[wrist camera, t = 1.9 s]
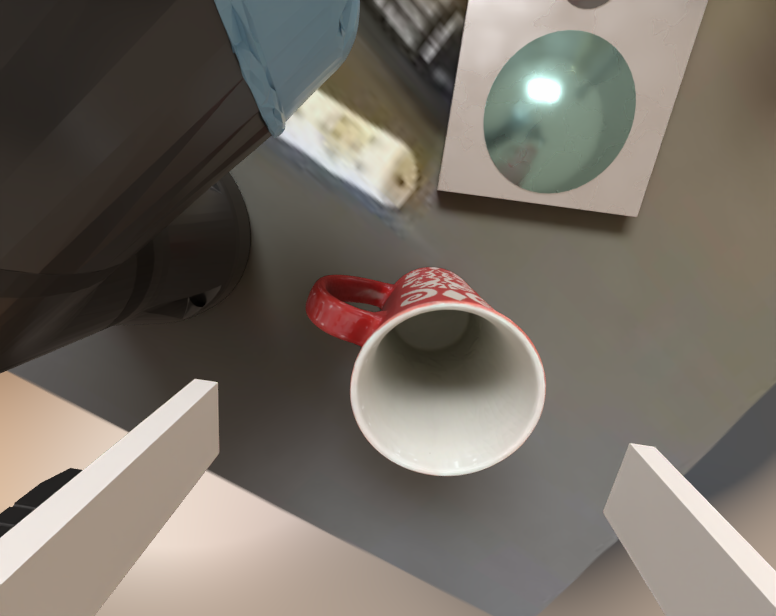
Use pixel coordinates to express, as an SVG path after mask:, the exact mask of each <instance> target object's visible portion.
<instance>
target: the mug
mask: <svg viewBox="0 0 776 616" xmlns="http://www.w3.org/2000/svg"><path fill="white" fill-rule="evenodd" d="M344 302H356V303H366V304H371V305H374V306H377V307H379V308H380V309H381V310H382V311H379V312H370V311H366V310H362V309H359V308H356V307H354V306H351V305H349V304H347V303H344ZM306 313H307V316H308V317H309V319H310V320H311V321H312V322H313V323H314V324H315V325H316V326H317V327H319V328H320V329H321V330H323V331H324V332H326V333H328V334H330V335H332V336H334V337H337V338H339V339H342V340H345V341H348V342H351V343H354V344H356V345H359V346H361V347H362V348H361V350H360V352H359V354H358V356H357V358H356V361H355V363H354V367H353V371H352V375H351V381H350V399H351V407H352V411H353V414H354V417H355V419H356V422H357V424H358V426H359V428H360V430H361V431H362V433H363V435H364V436H365V438H366V439H367V440H368V441H369V443H370V444H371V445H372V446H373V447H374V448H375V449H376V450H377V451H378V452H379V453H381V454H382V455H383V456H385V457H386V458H387V459H389V460H390V461H392V462H394V463H396V464H398V465H400V466H402V467H404V468H406V469H409V470H412V471H415V472H419V473H423V474H428V475H435V476H457V475H465V474H469V473H474V472H477V471H480V470H483V469H486V468H488V467H491V466H493V465H495V464H497V463H498V462H500V461H502V460H504V459H505V458H507V457H508V456H509V455H511V454H512V453H514V452H515V451H516V450H517V449H518V448H519V447H520V446H521V445H522V444H523V443H524V442H525V441H526V439H527V438H528V437H529V435H530V434H531V433H532V431H533V430H534V428H535V426H536V424H537V422H538V420H539V418H540V416H541V413H542V410H543V406H544V401H545V393H546V378H545V372H544V369H543V364H542V361H541V358H540V356H539V354H538V352H537V350H536V348H535V346H534V345H533V343H532V341H531V340H530V338H529V337H528V336H527V335H526V334H525V333H524V331H523V330H522V329H521V328H520V327H519V326H517V325H516V324H515V323H514V322H513V321H511V320H510V319H509V318H507V317H506V316H504V315H502V314H500V313H498V312H497V311H495V310H494V309H493V308H492V307H491V306H490V305H488V304H487V303H486V302H485V301H484V300H483V299H482V298H481V297H480V296H479V295H478V294H477V293H476V292H475V291H474V290H473V289H472V288H471V287H470V286H469V285H468V284H467V283H466V282H465V281H464V280H463V279H462V278H460V277H459V276H458V275H456V274H454V273H452V272H450V271H448V270H445V269H442V268H436V267H426V268H420V269H416V270H414V271H411V272H409V273H407V274H405V275H404V276H403V277H401V278H400V279H399V280H398V281H397V282H396V283H395V284H388V283H383V282H380V281H376V280H371V279H366V278H361V277H355V276H347V275H327V276H324V277H322V278H320V279H318V280H317V281H316V282H315V284H314V286H313V287H312V289H311V291H310V294H309V296H308V299H307V302H306Z"/></svg>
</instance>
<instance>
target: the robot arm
mask: <svg viewBox="0 0 776 616" xmlns="http://www.w3.org/2000/svg"><path fill="white" fill-rule="evenodd" d="M359 10H360V0H0V373H2V372H5V371H7V370H9V369H12V368H14V367H16V366H19V365H21V364H24V363H26V362H28V361H31V360H33V359H35V358H38V357H40V356H42V355H45V354H47V353H50V352H52V351H54V350H57V349H59V348H61V347H64V346H66V345H69V344H71V343H73V342H76V341H78V340H80V339H83V338H85V337H88V336H90V335H92V334H94V333H96V332H99V331H101V330H104V329H106V328H108V327H111V326H115V325H138V324H162V323H172V322H177V321H181V320H185V319H188V318H191V317H193V316H196V315H198V314H200V313H202V312H204V311H205V310H207V309H209V308H211V307H213V306H215V305H216V304H218V303H219V302H221V301H222V300H223V299H224V298H225V297H227V296H228V295H229V294H230V292H231V291H232V290H233V289H234V288H235V286H236V285H237V283H238V282H239V280H240V278H241V276H242V274H243V272H244V269H245V267H246V263H247V260H248V255H249V249H250V225H249V219H248V214H247V210H246V206H245V203H244V200H243V198H242V195H241V193H240V191H239V188H238V186H237V185H236V183H235V181H234V179H233V178H232V176H231V174H230V173H229V171H230V170H232V169H233V168H234V167H235V166H236V165H238V164H239V163H240V162H241V161H242V160H243V159H245V158H246V157H247V156H248V155H249V154H250V153H252V152H253V151H254V150H255V149H256V148H257V147H259V146H260V145H261V144H262V143H263V142H264V141H266V140H267V139H268V138H269V137H270V136H271V135H273V136H274V137H275V138H276V137H278V136H279V135H281V134H282V132H283V131H284V130H285V122H286V121H287V120H288V119H289V118H290V117H291V116H292V114H293V113H294V112H295V111H296V110H297V109H298V108H299V107H300V106H301V105H302V104H303V103H304V102H305V101H306V100H307V99H308V98H309V97H310V96H311V95H312V94H313V93H314V92H315V91H316V90H317V89H318V88H319V87H320V86H321V85H322V84H323V83H324V82H325V81H326V80H327V79H328V78H329V77H330V76H331V75H332V74H333V73H334V72H335V71H336V70H337V69H338V68H339V67H340V66H341V65H342V63H343V62H344V61H345V59H346V58H347V56H348V54H349V52H350V50H351V48H352V45H353V43H354V40H355V37H356V33H357V29H358V23H359ZM218 454H219V412H218V382H213V381H206V380H199V379H194V380H193V381H191V382H190V383H189V384H188V385H187V386H185V387H184V388H183V389H182V390H180V391H179V392H178V393H177V394H176V395H174V396H173V397H172V398H171V399H169V400H168V401H167V402H166V403H165V404H163V405H162V406H161V407H160V408H158V409H157V410H156V411H155V412H154V413H152V414H151V415H150V416H149V417H147V418H146V419H145V420H144V421H143V422H141V423H140V424H139V425H138V426H136V427H135V428H134V429H133V430H132V431H130V432H129V433H128V434H127V435H125V436H124V437H123V438H122V439H121V440H119V441H118V442H117V443H116V444H115V445H113V446H112V447H111V448H110V449H108V450H107V451H106V452H105V453H104V454H102V455H101V456H100V457H99V458H97V459H96V460H95V461H94V462H93V463H91V464H90V465H89V466H88V467H86V468H85V469H84V470H79V469H73V468H70V469H68V470H66V471H64V472H62V473H60V474H58V475H56V476H54V477H52V478H50V479H48V480H46V481H44V482H42V483H40V484H39V485H38V486H36V487H35V488H34V489H32V490H31V491H30V492H28V493H27V494H26V495H24V496H23V497H22V498H20V499H19V500H18V501H17V502H15V504H14V506H13V507H9V508H7V509H6V510H5V511H3V512H2V513H1V514H0V616H95V614H96V613H97V612H98V610H99V609H100V608H101V607H102V605H103V604H104V603H105V601H106V600H107V599H108V597H109V596H110V595H111V593H112V592H113V591H114V590H115V588H116V587H117V586H118V584H119V583H120V582H121V581H122V579H123V578H124V577H125V575H126V574H127V573H128V571H129V570H130V569H131V567H132V566H133V565H134V564H135V562H136V561H137V559H138V558H139V557H140V556H141V554H142V553H143V552H144V551H145V549H146V548H147V547H148V545H149V544H150V543H151V541H152V540H153V539H154V538H155V536H156V535H157V533H158V532H159V531H160V530H161V528H162V527H163V526H164V524H165V523H166V522H167V521H168V519H169V518H170V517H171V515H172V514H173V513H174V511H175V510H176V509H177V508H178V506H179V505H180V504H181V502H182V501H183V500H184V498H185V497H186V496H187V494H188V493H189V492H190V491H191V489H192V488H193V487H194V485H195V484H196V483H197V481H198V480H199V479H200V478H201V476H202V475H203V474H204V472H205V471H206V470H207V468H208V467H209V466H210V465H211V463H212V462H213V461H214V459H215V458H216V457H217V455H218ZM603 513H604V515H605V516H606V518H607V520H608V521H609V523H610V525H611V526H612V528H613V530H614V531H615V533H616V535H617V536H618V538H619V540H620V541H621V543H622V545H623V546H624V548H625V549H626V551H627V553H628V554H629V556H630V558H631V559H632V561H633V563H634V564H635V566H636V567H637V569H638V571H639V572H640V574H641V576H642V578H643V579H644V581H645V582H646V584H647V586H648V587H649V589H650V591H651V592H652V594H653V596H654V597H655V599H656V600H657V602H658V604H659V606H660V607H661V609H662V610H663V612H664V614H665V615H666V616H776V571H775V570H774V569H773V568H772V567H771V566H770V565H769V564H768V563H767V562H766V561H765V560H764V559H763V558H762V557H761V556H760V555H759V554H758V553H757V552H756V550H755V549H754V548H753V547H752V546H751V545H750V544H749V543H747V541H746V540H745V539H744V538H743V537H742V536H741V535H740V534H739V533H738V532H737V531H736V530H735V529H734V528H733V527H732V526H731V525H730V524H729V523H728V522H727V521H726V520H725V519H724V518H723V517H722V516H721V515H720V514H719V513H718V512H717V510H716V509H715V508H714V507H713V506H712V505H711V504H710V503H709V502H708V501H707V500H706V499H705V498H704V497H703V496H702V495H701V494H700V493H699V492H698V491H697V490H696V489H695V488H694V487H693V486H692V485H691V484H690V483H689V482H688V481H687V480H686V479H685V478H684V477H683V476H682V475H681V474H680V473H679V471H678V470H677V469H676V468H675V467H674V466H673V465H672V464H671V463H670V462H669V461H668V460H667V459H666V458H665V457H664V456H663V455H662V454H661V453H660V452H659V451H658V450H657V449H656V448H655V447H652V446H645V445H638V444H631V443H630V444H629V446H628V449H627V451H626V454H625V457H624V459H623V462H622V464H621V467H620V469H619V472H618V475H617V477H616V480H615V482H614V485H613V488H612V490H611V493H610V495H609V498H608V500H607V503H606V506H605V508H604V511H603Z"/></svg>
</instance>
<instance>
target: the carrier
mask: <svg viewBox="0 0 776 616" xmlns="http://www.w3.org/2000/svg"><path fill="white" fill-rule="evenodd" d="M707 2H708V0H468V1H467V7H466V14H465V20H464V26H463V32H462V38H461V44H460V50H459V57H458V63H457V69H456V75H455V81H454V87H453V94H452V100H451V106H450V112H449V118H448V124H447V130H446V137H445V143H444V149H443V155H442V161H441V167H440V173H439V180H438V186H437V190H438V191H445V192H453V193H460V194H467V195H475V196H482V197H489V198H497V199H504V200H512V201H519V202H526V203H534V204H541V205H548V206H556V207H563V208H570V209H578V210H585V211H593V212H600V213H607V214H615V215H622V216H631V217H637V215H638V212H639V209H640V206H641V203H642V200H643V197H644V194H645V191H646V188H647V185H648V182H649V179H650V176H651V173H652V170H653V166H654V163H655V160H656V157H657V154H658V151H659V148H660V145H661V142H662V139H663V136H664V133H665V130H666V127H667V124H668V121H669V118H670V115H671V112H672V109H673V106H674V102H675V99H676V96H677V93H678V90H679V87H680V84H681V81H682V78H683V75H684V72H685V69H686V66H687V63H688V60H689V57H690V54H691V51H692V48H693V45H694V42H695V38H696V35H697V32H698V29H699V26H700V23H701V20H702V17H703V14H704V11H705V8H706V5H707Z"/></svg>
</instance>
